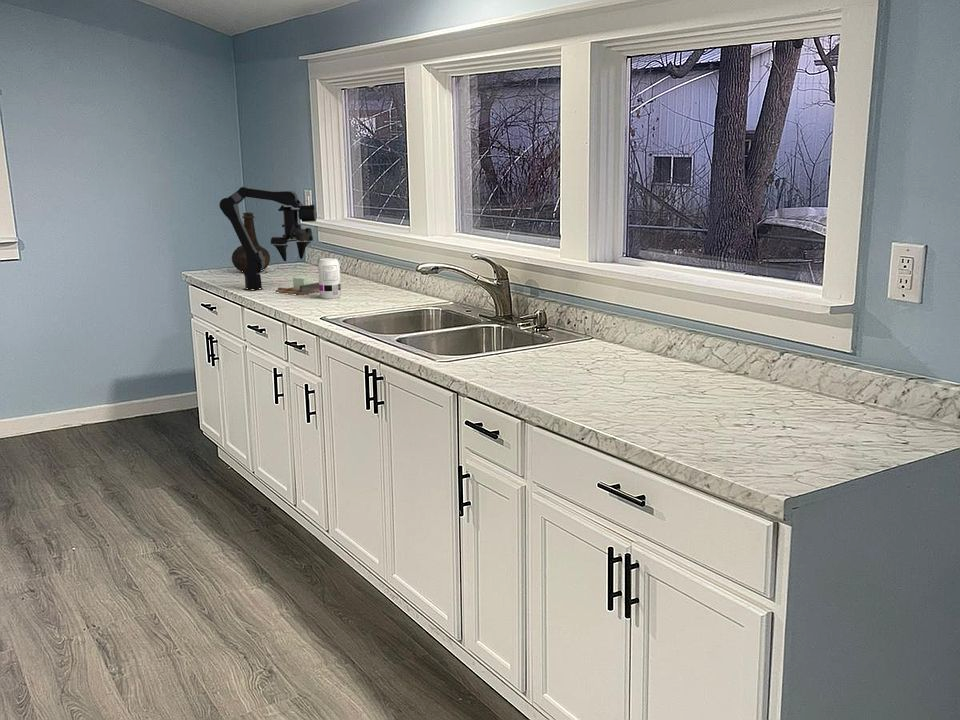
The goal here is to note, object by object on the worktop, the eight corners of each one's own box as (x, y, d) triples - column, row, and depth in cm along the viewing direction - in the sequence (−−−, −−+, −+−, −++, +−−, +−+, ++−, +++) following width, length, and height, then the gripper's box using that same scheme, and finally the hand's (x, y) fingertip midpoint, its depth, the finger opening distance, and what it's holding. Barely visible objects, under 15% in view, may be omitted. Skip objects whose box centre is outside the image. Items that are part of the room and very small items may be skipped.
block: (293, 290, 383) (292, 277, 382) (302, 288, 387) (301, 276, 386) (304, 291, 379) (303, 278, 378) (313, 289, 383) (312, 277, 382)
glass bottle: (252, 268, 463) (248, 210, 457) (279, 270, 453) (275, 211, 447) (224, 273, 448) (220, 213, 442) (251, 275, 439) (247, 214, 433)
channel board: (275, 293, 383) (275, 284, 383) (299, 288, 394) (298, 280, 393) (300, 295, 375) (299, 286, 375) (323, 291, 386) (323, 282, 385)
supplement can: (315, 298, 368) (313, 260, 365) (328, 295, 375) (326, 257, 372) (332, 299, 364) (330, 260, 361) (345, 296, 371) (343, 258, 368)
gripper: (288, 224, 376) (290, 263, 380) (321, 220, 391) (323, 258, 395) (268, 223, 383) (271, 262, 386) (302, 220, 398) (304, 257, 401)
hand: (293, 260), depth 392 cm, fingers open, 9 cm apart
